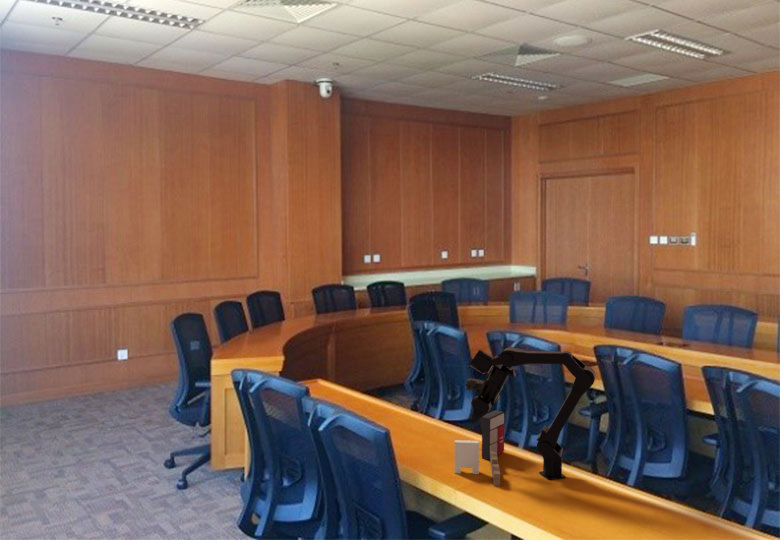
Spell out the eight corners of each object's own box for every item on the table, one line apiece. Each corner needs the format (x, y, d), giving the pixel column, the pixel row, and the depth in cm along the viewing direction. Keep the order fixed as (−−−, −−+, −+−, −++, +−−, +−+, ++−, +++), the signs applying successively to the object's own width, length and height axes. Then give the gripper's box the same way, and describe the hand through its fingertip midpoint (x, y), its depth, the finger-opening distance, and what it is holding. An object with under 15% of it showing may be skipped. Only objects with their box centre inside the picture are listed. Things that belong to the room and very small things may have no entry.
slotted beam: (490, 461, 233) (490, 450, 232) (496, 462, 233) (496, 450, 232) (493, 485, 211) (493, 473, 211) (500, 486, 211) (500, 473, 210)
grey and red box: (490, 460, 234) (491, 418, 233) (480, 458, 237) (480, 416, 236) (505, 452, 243) (505, 411, 242) (494, 449, 245) (495, 410, 245)
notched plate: (478, 471, 224) (478, 440, 223) (478, 474, 221) (479, 443, 220) (454, 470, 224) (454, 439, 224) (454, 473, 222) (454, 442, 221)
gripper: (481, 363, 236) (461, 400, 239) (468, 374, 218) (447, 414, 221) (508, 380, 232) (488, 417, 236) (498, 392, 215) (476, 432, 218)
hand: (474, 419), depth 228 cm, fingers open, 9 cm apart
